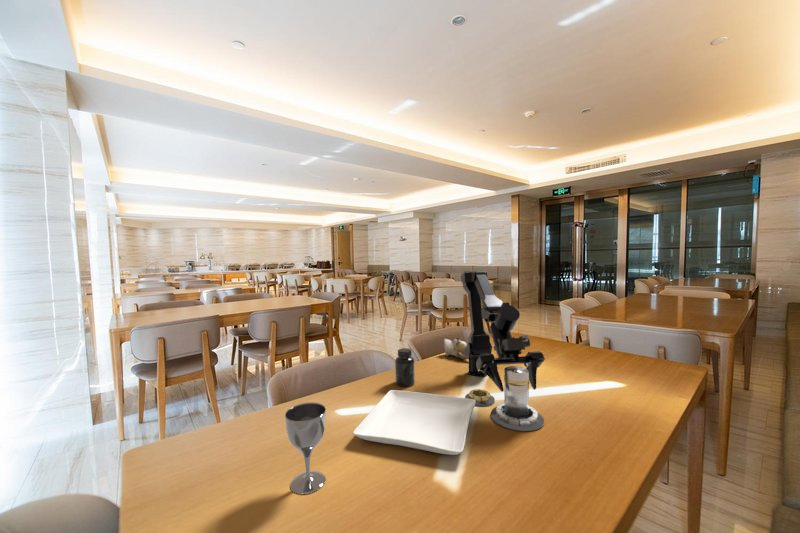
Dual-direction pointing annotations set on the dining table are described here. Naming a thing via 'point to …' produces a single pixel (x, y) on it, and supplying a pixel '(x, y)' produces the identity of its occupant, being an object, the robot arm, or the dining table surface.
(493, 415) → the collar
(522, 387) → the cylinder
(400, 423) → the square plate
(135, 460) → the dining table surface
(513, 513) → the dining table surface
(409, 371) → the supplement bottle
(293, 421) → the wine glass
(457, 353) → the ceramic sculpture
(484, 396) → the brass collar
